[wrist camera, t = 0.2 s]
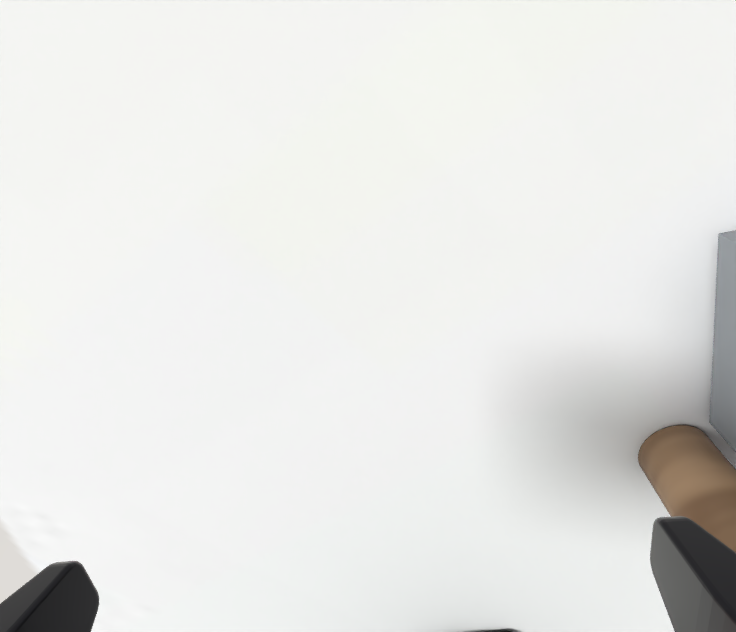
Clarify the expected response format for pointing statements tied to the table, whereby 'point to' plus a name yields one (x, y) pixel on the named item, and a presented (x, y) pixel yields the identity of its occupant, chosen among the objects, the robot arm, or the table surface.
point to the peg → (692, 479)
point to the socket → (725, 342)
